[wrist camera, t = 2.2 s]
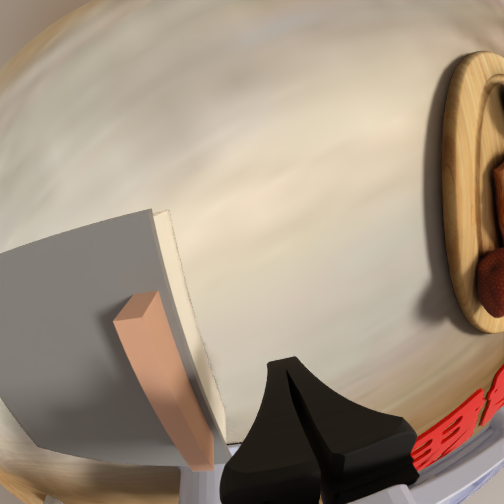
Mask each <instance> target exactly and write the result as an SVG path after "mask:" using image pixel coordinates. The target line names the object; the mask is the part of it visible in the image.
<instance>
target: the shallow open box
mask: <svg viewBox="0 0 504 504" xmlns="http://www.w3.org/2000/svg"><path fill="white" fill-rule="evenodd" d="M153 218H154V222H155V227H156V231H157V236H158V240H159V244H160V249H161V253H162V257H163V261H164V265H165V269H166V273H167V276H168V280H169V284H170V287H171V291H172V295H173V298H174V302H175V305H176V308H177V312H178V315H179V318H180V322H181V325H182V328H183V331H184V334H185V337H186V341H187V344H188V347H189V350H190V352H191V355H192V358H193V361H194V364H195V367H196V370H197V372H198V375H199V378H200V381H201V383H202V386H203V389H204V391H205V394H206V397H207V399H208V402H209V404H210V407H211V409H212V412H213V414H214V417H215V419H216V421H217V424H218V426H219V428H220V431H221V433H222V435H223V438H224V440H225V442H226V424H225V408H224V405H223V402H222V400H221V397H220V394H219V391H218V388H217V385H216V382H215V379H214V376H213V373H212V370H211V367H210V364H209V361H208V358H207V355H206V351H205V348H204V345H203V342H202V338H201V335H200V331H199V328H198V325H197V321H196V318H195V314H194V311H193V307H192V303H191V300H190V296H189V292H188V288H187V284H186V280H185V277H184V273H183V268H182V264H181V260H180V256H179V252H178V247H177V243H176V239H175V234H174V230H173V225H172V220H171V215H170V210H166V211H162V212H157V213H153Z"/></svg>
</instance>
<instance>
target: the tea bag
mask: <svg viewBox="0 0 504 504" xmlns="http://www.w3.org/2000/svg"><path fill="white" fill-rule="evenodd" d="M43 504H64V503H63V502H61V501H60V500H59V499H57V498H55V497H52V496H49V495H46V498H45V501H44V503H43Z"/></svg>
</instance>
